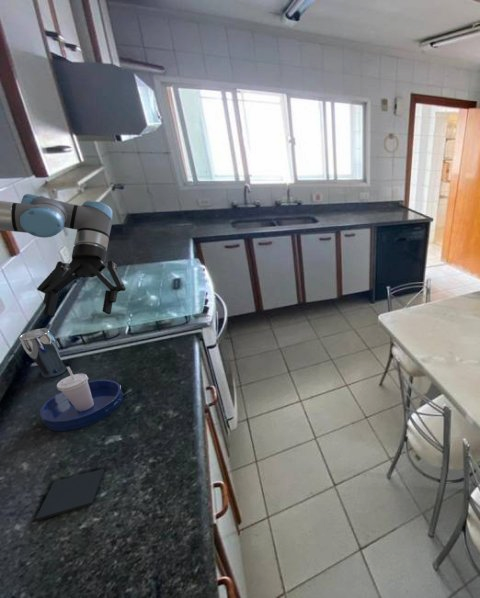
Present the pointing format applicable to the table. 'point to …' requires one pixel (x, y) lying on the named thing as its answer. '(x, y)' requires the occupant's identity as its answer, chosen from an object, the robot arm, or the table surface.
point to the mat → (70, 494)
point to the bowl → (67, 417)
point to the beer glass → (43, 352)
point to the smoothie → (77, 390)
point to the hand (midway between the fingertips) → (78, 314)
